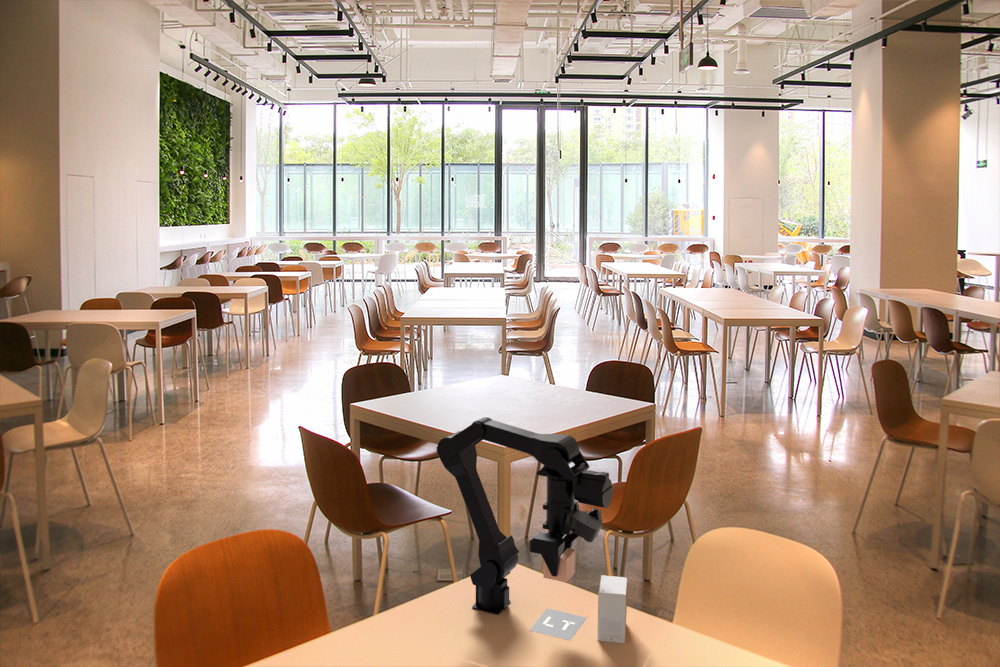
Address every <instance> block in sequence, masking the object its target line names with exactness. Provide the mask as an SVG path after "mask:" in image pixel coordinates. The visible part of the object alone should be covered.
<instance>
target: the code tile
mask: <svg viewBox="0 0 1000 667" xmlns="http://www.w3.org/2000/svg"><path fill="white" fill-rule="evenodd" d="M586 619H587V617H585V616H582V615H578V614H577V615H576V614H572V613H569V612H565V611H561V610H556V609H552V608H548V607H547V608H546V609H545V610H544V612H542V614H541V615H540V616H539V618H538V619H537V620H536V621H535V622H534V623H533V625H532V626H531V627H530V628H529V632H530V631H531V632H534V633H538V634H542V635H545V636H546V635H547V636H550V637H554V638H558V639H562V640H566V641H569V642H570V641H571V640H572V639H573V637H574V636H575V635H576V633H577V632H578V630H579V629H580V628H581V626H582V625H583V624H584V623H585V621H586Z"/></svg>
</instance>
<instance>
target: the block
mask: <svg viewBox="0 0 1000 667" xmlns="http://www.w3.org/2000/svg"><path fill="white" fill-rule="evenodd" d="M575 573H576V549H574V548H571V549H569V548H567V550H566V551H565V552H564V553H563V554H561V558H560V564H559V570H558V575H557V576H556V577H555V576H552V575H551V573H550V571H549V569H548V567H547V565H546V563H545V561H544V560H543V578H544V579H548V580H552V581H557V582H562V583H568V581H569V580H570V579H571V578H572V576H574V575H575Z"/></svg>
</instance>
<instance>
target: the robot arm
mask: <svg viewBox="0 0 1000 667" xmlns="http://www.w3.org/2000/svg"><path fill="white" fill-rule="evenodd" d="M483 440H484V441H486V442H489V443H493V444H494V445H495V444H496V445H499V446H501V447H505V448H509V449H511V450H515V451H518V452H521V453H524V454H528V456H531V457H533V458H534V459H535V460H536V461H537V462H538V463H539V464H541V465H543V466H542V468H540V469H539V470H538V471H537V472H536V475H538V476H540V477H546V500H545V502H544V503H543V504H542V510H545V511H546V512H545V521H544V522H543V523H542V529H543V530H548V532H542V531H539V532H538V533H537V534H536V535H534V536H533V537H532V538H531V539H530V540H529V541H528V551H529V552H530V553H532V554H533V553H534V554H538V555H541V557H542V559H543V562H544V561H545V563H546V565H547V567H548V569H549V571H550V573H551V575H552V576H555V577H556V576H557V575H558V570H559V564H560V558H561V554H563V553H564V552H565V551H566V550H567V548H569V549H573V548H572V547H573V544H574V542H575V540H577V538H579V537H580V538H582V539H583V540H584V541H585V542H587V543H593V542H594V541H595V539H596V538H597V537H598V535H599V533H600V530H601V528H602V527H603V525H604V523H603V521H604V519H602V510H600V509H598V508H596V507H599V508H603V509H607V508H608V507H610V504H611V502H612V499H613V494H614V486H613V483H612V479H610V473H609V472H606V471H597V470H596V471H595V470H589V469H590V465H589V463H588V462H587V460H586V458H585V457H584V455H583V454H582V452H581V450H580V447H579V444H578V442H577V440H576V438H574V437H573V436H571V435H568V434H560V433H538V432H537V433H536V432H535V431H530V430H527V429H524V428H520V427H517V426H515V425H511V424H508V423H504V422H501V421H497V420H495V419H494V420H493V419H492V418H490V417H486V416H485V417H482V418H479V419H477V420H475V421H473V422H472V423H471V424H470V425H469V426H467V427H465V428H464V429H463V430H458V431H456V432H454V433H451V434H449V435H447V436H445V437H443V438H441V439H440V440H439V441H438V443H437V446H436V453H437V456H438V458H439V460H440V462H441V464H442V466H443V468H444V469H445V470H446V471H447V472H449V473H450V475H452V476H453V477H454V479H455V480H456V483H457V485H458V488H459V491H460V494H461V497H462V499H463V502H464V504H465V506H466V510H467V512H468V515H469V517H470V520H471V523H472V525H473V528H474V530H475V533H476V536H477V538H478V552H477V556H478V561H479V565H480V567H478V568H477V569H476V570H475V571H473V572H472V573H471V574H470V575H469V577H470V580H471V583H472V585H473V586H475V602H474V604H473V605H471V609H472V610H476V611H480V612H484V613H488V614H492V615H497V616H498V615H500V614H502V612H503V611H504V610H505V609H506V608H507V607H508V606H509V604H511V599H510V585H508V578H506V577H507V576H508V575H510V574H511V572H512V570H513V569H515V568H516V567H517V565H518V562H519V553H520V550H518V548H517V546H516V543H515V540H514V537H513V535H509V536H506V535H505V534H504V533H503V532H502V531H501V530H500V528H499V526H498V523H497V520H496V517H495V515H494V512H493V509H492V506H491V504H490V501H489V499H488V496H487V494H486V491H485V489H484V486H483V483H482V481H481V478H480V475H479V473H478V470H477V460H478V453H477V449H476V445H478V444H479V443H481V442H482V441H483ZM571 463H573V466H571V467H570V464H571ZM580 504H583V505H588V506H593V507H594V508H592V509H591V510H590V511H589V512H588V511H587V510H585V511H583V510H581V509H580Z"/></svg>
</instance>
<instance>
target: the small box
mask: <svg viewBox="0 0 1000 667" xmlns="http://www.w3.org/2000/svg"><path fill="white" fill-rule="evenodd" d="M628 580H629V579H628V577H624V576H613V575H603V574H601V575H600V582H599V589H598V592H597V593H598V594H597V595H598V596H597V597H598V599H597V600H598V601H597V637H596V638H597V641H602V642H608V643H609V642H610V643H617V644H625V643H626V631H627V611H628V610H627V608H628V606H627V605H628Z"/></svg>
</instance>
